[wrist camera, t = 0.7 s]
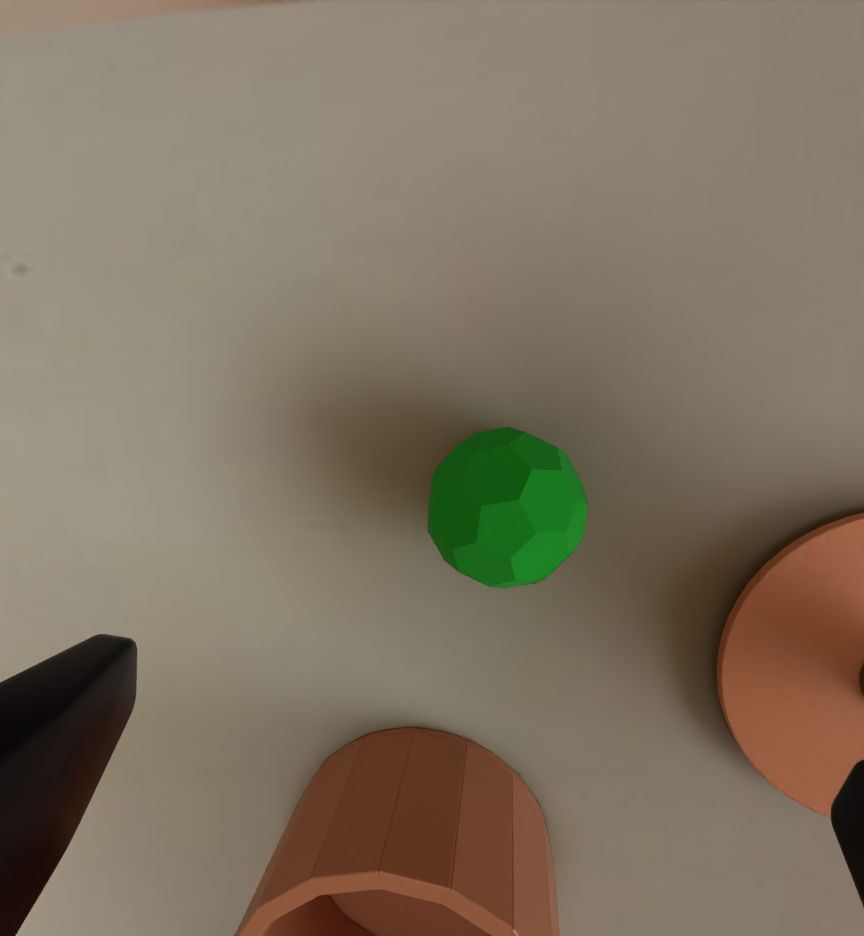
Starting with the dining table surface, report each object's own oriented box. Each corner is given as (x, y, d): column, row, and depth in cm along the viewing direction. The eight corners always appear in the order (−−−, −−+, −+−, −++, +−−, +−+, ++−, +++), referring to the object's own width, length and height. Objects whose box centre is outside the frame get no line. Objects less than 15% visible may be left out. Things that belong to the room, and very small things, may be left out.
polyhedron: (450, 567, 22) (434, 622, 18) (423, 436, 22) (400, 457, 17) (587, 546, 22) (609, 598, 17) (565, 410, 21) (581, 424, 16)
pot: (602, 822, 23) (639, 1009, 17) (461, 994, 26) (444, 1221, 19) (377, 679, 23) (324, 807, 17) (256, 862, 26) (166, 1041, 19)
